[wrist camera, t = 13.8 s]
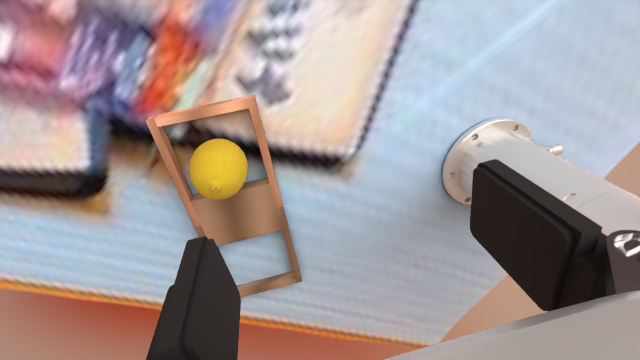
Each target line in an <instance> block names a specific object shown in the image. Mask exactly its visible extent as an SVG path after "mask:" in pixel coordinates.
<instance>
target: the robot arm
mask: <svg viewBox="0 0 640 360" xmlns="http://www.w3.org/2000/svg"><path fill="white" fill-rule="evenodd" d="M562 152H563V148H562V146H561V145H560V144H555V145H551V146H548V147H544V146H542V145H540V144H538V143H536V142H534V141H533V137H532V134H531V132H530V131H529V129H528V128H527V127H526V126H525V125H523V124H522V123H521V122H518V121H516V120H514V119H510V118H505V117H503V118H493V119H489V120H486V121H483V122H481V123H479V124H477V125H475V126H474V127H472V128H470V129H469V130H468V131H467V132H465V133H464V134H463V135H462V136H461V137H460V138H459V139H458V140H457V141H456V142H455V144H454V145H453V147H452V148H451V149H450V151H449V153H448V155H447V157H446V159H445V163H444V166H443V173H442V178H443V184H444V187H445V189H446V190H447V192H448V193H449V194H450V195H451V196H452V197H453V198H454V199H455V200H457V201H458V202H460V203H463V204H467V205H471V216H470V230H471V233H472V235H473V236H474V238H475V239H476V240H477V241H478V242H479V243H480V244H481V245H482V246H483V247H484V248H485V249H486V250H487V252H488V253H489V254H490V255H491V256H492V257H493V258H494V259H495V260H496V261H497V262H498V263H499V264H500V266H501V267H502V268H503V269H504V270H505V271H506V272H507V273H508V274H509V275H510V276H511V277H512V278H513V280H514V281H515V282H516V283H517V284H518V285H519V286H520V287H521V288H522V289H523V290H524V291H525V292H526V294H528V296H529V297H530V298H531V299H532V300H533V301H534V302H535V303H536V304H537V305H538V306H539V307H540V308H541V309H542V310H544V311H548V312H546V313H543V314H539V315H535V316H532V317H528V318H525V319H522V320H518V321H514V322H511V323H507V324H504V325H500V326H497V327H493V328H490V329H486V330H483V331H479V332H476V333H472V334H469V335H465V336H462V337H459V338H455V339H452V340H448V341H445V342H441V343H438V344H435V345H431V346H428V347H424V348H421V349H417V350H414V351H411V352H407V353H404V354H401V355H397V356H394V357H390V358H387V359H384V360H640V197H638V196H636V195H634V194H632V193H629V192H627V191H625V190H623V189H621V188H619V187H617V186H615V185H613V184H611V183H609V182H607V181H605V180H603V179H602V178H600V177H598V176H596V175H594V174H592V173H590V172H588V171H586V170H584V169H582V168H580V167H578V166H576V165H574V164H572V163H570V162H568V161H566V159H564V158H562V157H558V156H556V155H559V154H561V153H562ZM240 305H241V298H240V293H239V290H238V288H237V286H236V284H235V282H234V280H233V278H232V276H231V274H230V272H229V270H228V268H227V265H226V263H225V261H224V259H223V257H222V255H221V253H220V251H219V249H218V247H217V245H216V243H215V241H214V240H213V239H208V238H207V237H206V236H203V237H199V238H195V239H191V240H188V241H187V244H186V247H185V250H184V254H183V257H182V260H181V264H180V267H179V270H178V273H177V277H176V280H175V283H174V285H172V286H171V287H170V288H169V290H168V292H167V295H166V298H165V301H164V305H163V308H162V311H161V314H160V317H159V320H158V323H157V327H156V330H155V333H154V336H153V339H152V342H151V345H150V349H149V352H148V355H147V358H146V360H237V354H238V338H239V321H240Z"/></svg>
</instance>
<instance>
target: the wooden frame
mask: <svg viewBox="0 0 640 360" xmlns="http://www.w3.org/2000/svg"><path fill="white" fill-rule="evenodd" d="M248 108H249V110H250V114H251V117H252V121H253V125H254V128H255V132H256V136H257V139H258V143H259V147H260V150H261V154H262V158H263V161H264V165H265V169H266V172H267V176H268V178H264V179H260V180H255V181H251V182H247V183H244V184H243V186H242V188H241V189H240V190H239V191H238V192H237V193H236V194H234V195H233V196H231V197H229V198H226V199H221V200H214V199H210V198H207V197H205V196H203V195H201V194H200V193H198V194H194V195H192V192H191V190H190V188H189V185H188V183H187V181H186V178H185V176H184V174H183V171H182V169H181V167H180V164H179V162H178V160H177V157H176V155H175V153H174V150H173V148H172V146H171V144H170V141H169V139H168V137H167V134H166V132H165V130H164V127H163V126H166V125H170V124H175V123H180V122H185V121H190V120H195V119H200V118H205V117H209V116H214V115H219V114H224V113H229V112H234V111H239V110H243V109H248ZM146 123H147V125H148V127H149V129H150V131H151V134H152V136H153V138H154V140H155V142H156V145H157V147H158V149H159V151H160V153H161V156H162V158H163V160H164V162H165V164H166V166H167V169H168V171H169V173H170V175H171V177H172V180H173V182H174V184H175V186H176V188H177V191H178V193H179V195H180V197H181V199H182V202H183V204H184V206H185V208H186V210H187V212H188V215H189V217H190V219H191V221H192V223H193V226H194V228H195V230H196V232H197V234H198V237H203V236H206V237H207V238H208V239H213V240H214V241H215V243H216V245H217V246H220V245H224V244H228V243H232V242H236V241H240V240H244V239H248V238H252V237H256V236H261V235H265V234H269V233H273V232H277V231H281V230H282V231H283V235H284V239H285V242H286V246H287V250H288V253H289V257H290V261H291V264H292V268H293V272H289V273H285V274H281V275H277V276H274V277H270V278H266V279H262V280H258V281H254V282H250V283H246V284H242V285H239V286H237V288H238V290H239V293H240V297H244V296H248V295H252V294H256V293H259V292H263V291H267V290H271V289H275V288H279V287H282V286H286V285H290V284H294V283H298V282H302V279H301V274H300V270H299V266H298V262H297V258H296V254H295V250H294V246H293V242H292V239H291V235H290V231H289V227H288V223H287V219H286V215H285V211H284V207H283V203H282V200H281V196H280V192H279V188H278V184H277V180H276V176H275V172H274V168H273V165H272V161H271V157H270V153H269V149H268V145H267V141H266V137H265V133H264V129H263V126H262V122H261V118H260V114H259V110H258V106H257V102H256V98H255V95H253V96H248V97H243V98H238V99H233V100H228V101H223V102H218V103H213V104H208V105H203V106H198V107H193V108H188V109H183V110H178V111H173V112H168V113H163V114H158V115H153V116H150V117H149V118H148V119H147V120H146Z"/></svg>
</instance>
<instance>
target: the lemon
mask: <svg viewBox="0 0 640 360" xmlns="http://www.w3.org/2000/svg"><path fill="white" fill-rule="evenodd" d="M247 172H248V165H247V159H246V157H245V155H244V152H243V151H242V150H241V149H240V147H239V146H237V145H236V144H235V143H233V142H231V141H229V140H225V139H213V140H209V141H207V142H205V143H203V144H201V145H200V146H199V147H198V148H197V149H196V150H195V152H194V154H193V156H192V157H191V161H190V165H189V173H190V179H191V182H192V184H193V186H194V187H195V189H196V190H197V191H198V192H199V193H200V194H201V195H203V196H205V197H207V198H210V199H214V200H221V199H226V198H229V197H231V196H233V195H234V194H236V193H237V192H238V191H239V190H240V189H241V188H242V186H243V184H244V182H245V180H246V178H247Z"/></svg>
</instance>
